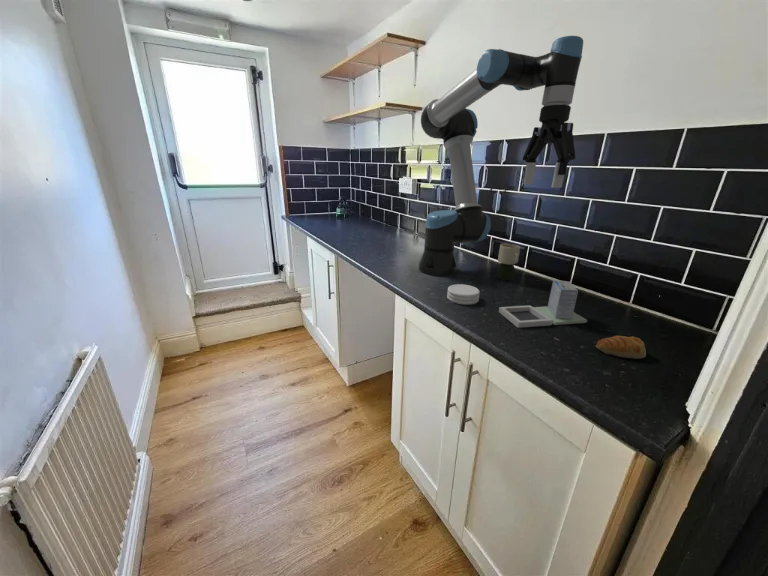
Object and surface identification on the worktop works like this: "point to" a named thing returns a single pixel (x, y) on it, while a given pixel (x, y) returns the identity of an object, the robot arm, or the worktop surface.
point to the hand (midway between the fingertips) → (541, 186)
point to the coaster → (463, 294)
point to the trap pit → (525, 316)
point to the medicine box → (562, 299)
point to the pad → (560, 321)
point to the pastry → (623, 347)
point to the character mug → (507, 261)
